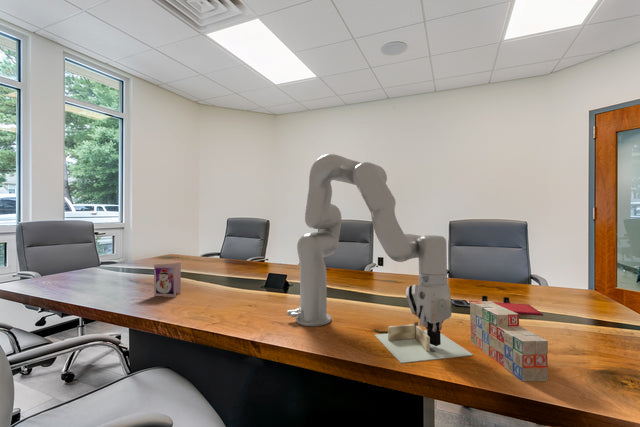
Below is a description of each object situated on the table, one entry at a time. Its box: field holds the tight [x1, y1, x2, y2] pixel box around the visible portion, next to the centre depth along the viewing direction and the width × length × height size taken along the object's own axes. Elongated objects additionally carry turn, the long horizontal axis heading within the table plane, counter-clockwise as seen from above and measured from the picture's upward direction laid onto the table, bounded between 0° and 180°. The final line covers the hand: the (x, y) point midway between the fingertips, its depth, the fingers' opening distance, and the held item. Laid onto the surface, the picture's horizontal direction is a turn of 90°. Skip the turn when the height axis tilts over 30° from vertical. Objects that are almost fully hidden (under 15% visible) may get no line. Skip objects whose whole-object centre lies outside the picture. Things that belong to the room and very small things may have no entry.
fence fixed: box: [387, 321, 419, 341], centre depth 89 cm, size 10×1×5 cm, turn 101°
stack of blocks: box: [469, 300, 549, 382], centre depth 77 cm, size 21×6×12 cm, turn 2°
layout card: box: [374, 329, 474, 364], centre depth 86 cm, size 21×18×1 cm
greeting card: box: [153, 262, 182, 298], centre depth 141 cm, size 11×7×15 cm, turn 80°
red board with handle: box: [451, 295, 544, 316], centre depth 121 cm, size 30×3×15 cm
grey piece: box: [405, 284, 419, 314], centre depth 121 cm, size 17×5×10 cm, turn 157°
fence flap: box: [416, 325, 430, 351], centre depth 85 cm, size 8×1×4 cm, turn 1°
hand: (433, 343), depth 84 cm, fingers closed
